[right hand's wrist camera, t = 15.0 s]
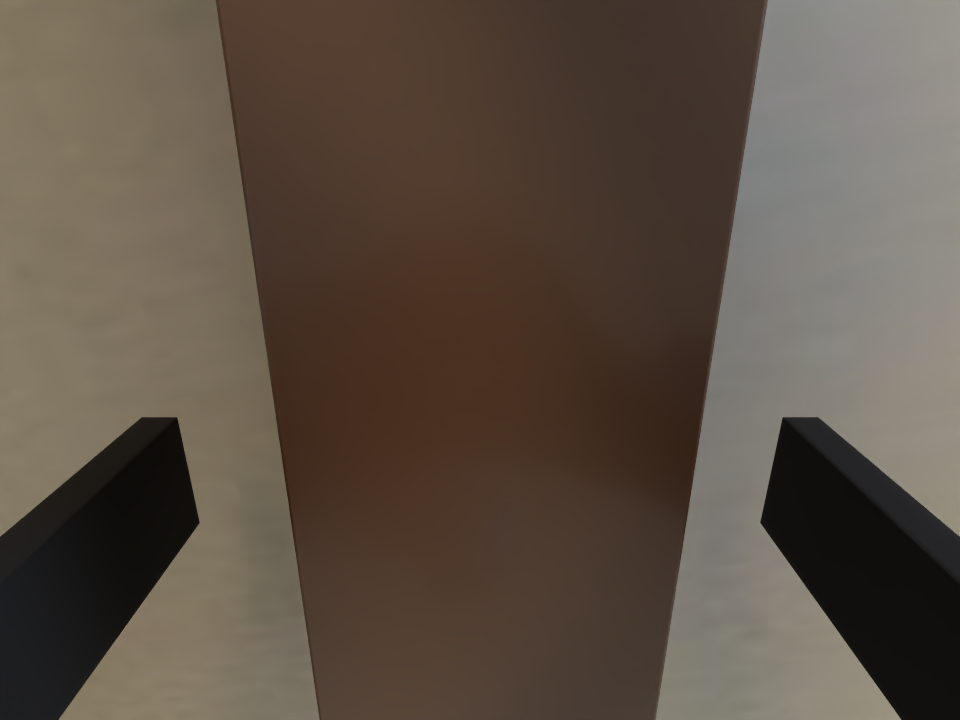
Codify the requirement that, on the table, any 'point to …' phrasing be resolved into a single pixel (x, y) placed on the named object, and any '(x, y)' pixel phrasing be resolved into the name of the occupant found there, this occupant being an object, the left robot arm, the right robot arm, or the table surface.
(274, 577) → the table surface
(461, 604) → the walnut beam
